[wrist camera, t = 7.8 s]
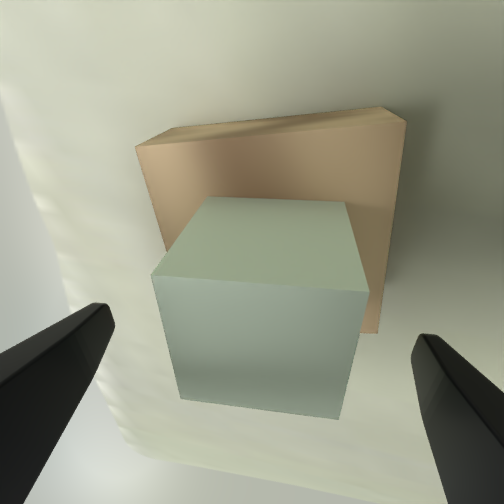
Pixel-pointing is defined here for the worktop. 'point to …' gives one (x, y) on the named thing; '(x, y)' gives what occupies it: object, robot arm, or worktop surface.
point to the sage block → (264, 304)
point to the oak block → (287, 174)
